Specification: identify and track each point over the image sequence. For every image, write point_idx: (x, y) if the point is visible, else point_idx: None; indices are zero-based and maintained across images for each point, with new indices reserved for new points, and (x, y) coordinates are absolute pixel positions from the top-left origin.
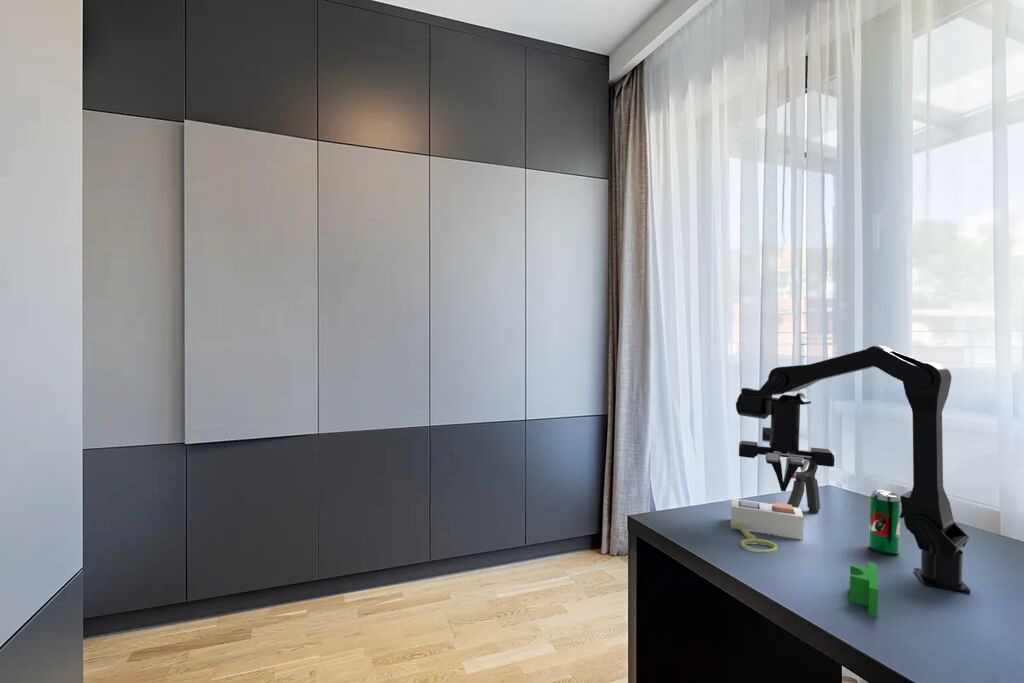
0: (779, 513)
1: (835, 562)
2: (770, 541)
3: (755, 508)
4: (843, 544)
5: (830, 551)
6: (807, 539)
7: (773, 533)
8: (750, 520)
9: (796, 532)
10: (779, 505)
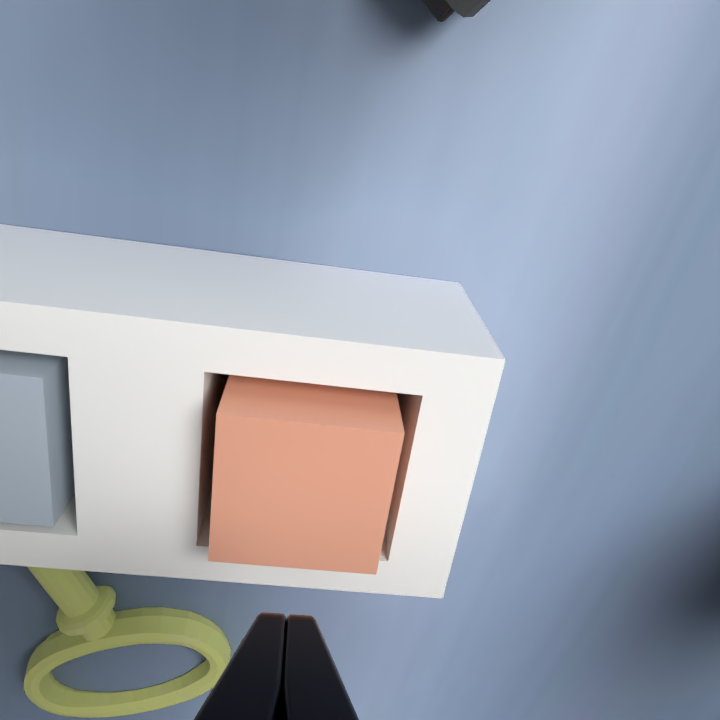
0: (249, 582)
1: (488, 694)
2: (190, 636)
3: (35, 517)
4: (662, 460)
5: (523, 584)
6: None
7: None
8: None
9: None
10: (263, 501)
